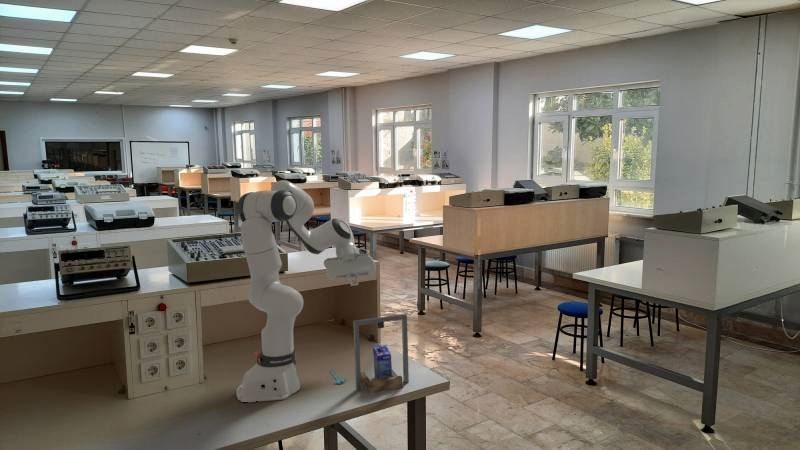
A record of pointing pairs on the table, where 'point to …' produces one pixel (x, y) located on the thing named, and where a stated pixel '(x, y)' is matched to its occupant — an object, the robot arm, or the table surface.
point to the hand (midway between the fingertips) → (354, 284)
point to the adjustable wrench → (337, 379)
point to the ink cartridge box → (382, 362)
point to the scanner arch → (380, 324)
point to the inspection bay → (382, 383)
